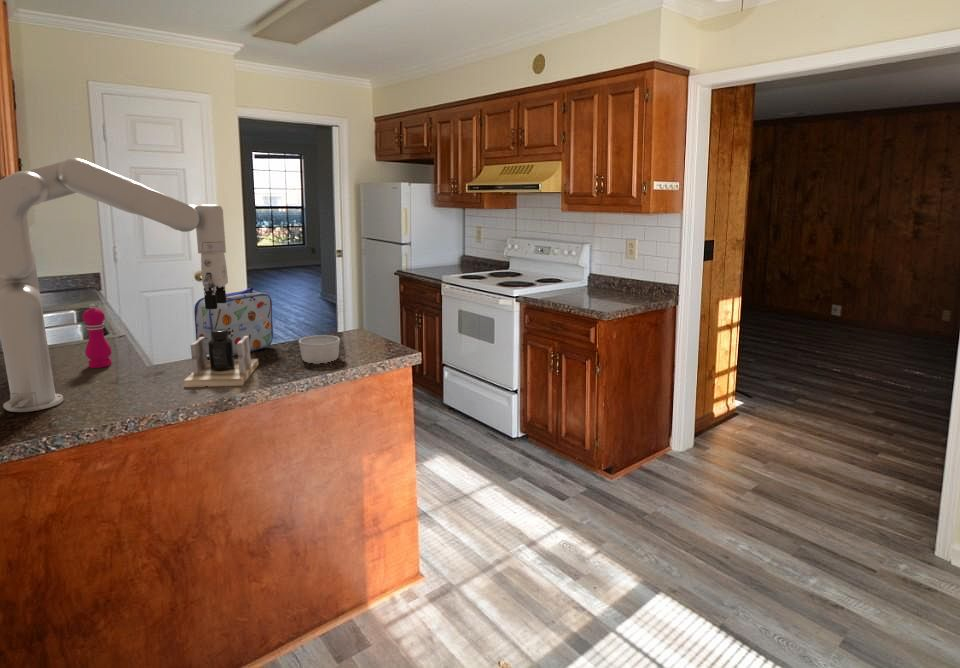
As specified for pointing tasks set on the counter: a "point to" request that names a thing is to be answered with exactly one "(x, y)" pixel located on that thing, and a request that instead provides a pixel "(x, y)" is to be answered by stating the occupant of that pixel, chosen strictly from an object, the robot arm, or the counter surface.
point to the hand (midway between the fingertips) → (216, 305)
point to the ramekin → (319, 348)
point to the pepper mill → (96, 339)
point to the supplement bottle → (221, 350)
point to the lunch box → (238, 319)
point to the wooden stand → (220, 378)
